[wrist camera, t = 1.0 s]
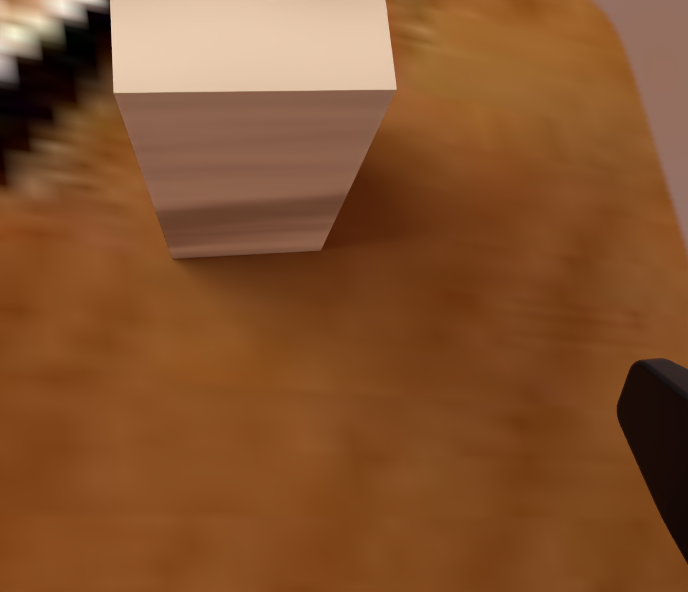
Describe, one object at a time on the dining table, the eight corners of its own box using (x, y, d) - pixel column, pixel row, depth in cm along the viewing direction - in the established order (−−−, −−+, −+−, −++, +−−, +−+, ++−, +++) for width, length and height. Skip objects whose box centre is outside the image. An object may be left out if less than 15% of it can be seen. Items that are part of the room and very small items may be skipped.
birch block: (320, 250, 23) (396, 89, 12) (172, 258, 22) (114, 92, 11) (307, 116, 24) (367, -142, 13) (164, 119, 23) (104, -156, 12)
